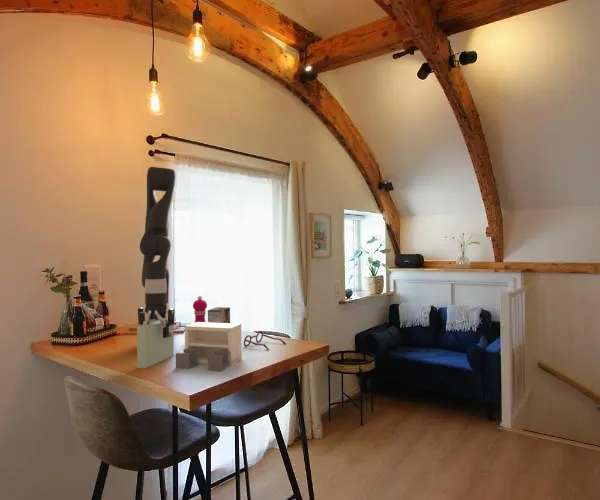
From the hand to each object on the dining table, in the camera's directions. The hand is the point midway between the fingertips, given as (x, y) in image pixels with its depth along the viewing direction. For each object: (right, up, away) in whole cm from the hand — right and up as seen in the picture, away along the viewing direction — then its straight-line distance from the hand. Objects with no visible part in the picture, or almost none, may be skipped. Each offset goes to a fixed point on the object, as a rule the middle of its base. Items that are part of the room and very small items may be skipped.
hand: (156, 336), depth 155 cm
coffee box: (+19, -9, +21) cm, 30 cm away
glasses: (+37, -9, +24) cm, 45 cm away
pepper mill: (+8, -9, +32) cm, 34 cm away
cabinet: (+20, -9, -3) cm, 22 cm away
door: (0, -9, 0) cm, 9 cm away
